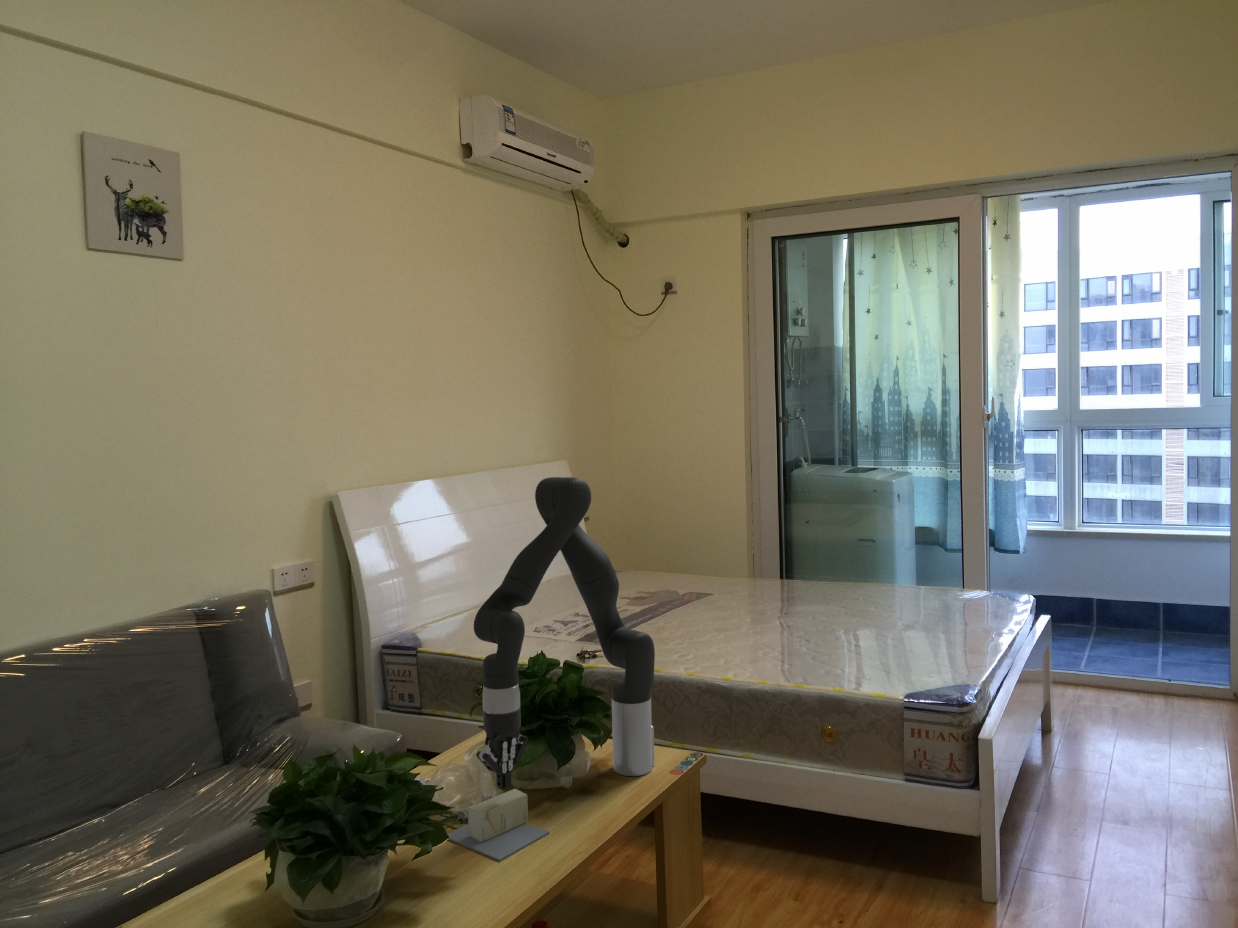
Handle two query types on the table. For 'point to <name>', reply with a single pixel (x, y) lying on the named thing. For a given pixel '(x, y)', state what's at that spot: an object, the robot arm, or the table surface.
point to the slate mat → (499, 840)
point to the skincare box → (497, 815)
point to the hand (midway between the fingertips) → (504, 788)
